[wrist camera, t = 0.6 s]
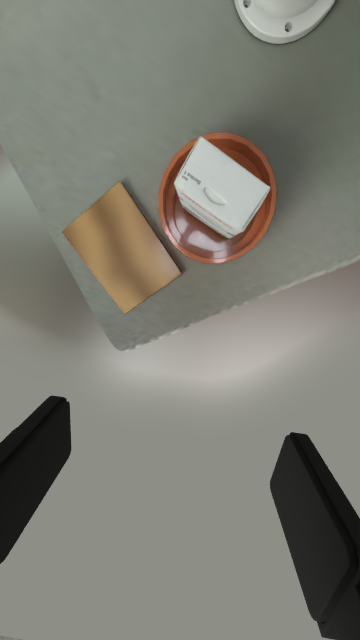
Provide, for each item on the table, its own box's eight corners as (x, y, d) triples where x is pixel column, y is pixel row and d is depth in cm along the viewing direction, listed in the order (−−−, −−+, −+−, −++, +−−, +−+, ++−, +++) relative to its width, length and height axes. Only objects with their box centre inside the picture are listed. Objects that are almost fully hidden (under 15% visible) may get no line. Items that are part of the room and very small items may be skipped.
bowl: (230, 126, 29) (237, 101, 24) (282, 223, 32) (297, 218, 27) (144, 197, 32) (135, 187, 27) (198, 280, 35) (199, 284, 30)
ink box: (247, 211, 32) (276, 186, 20) (227, 241, 33) (243, 234, 22) (198, 176, 31) (200, 130, 19) (179, 209, 32) (171, 183, 21)
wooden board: (121, 182, 32) (119, 180, 31) (182, 273, 35) (182, 273, 34) (64, 232, 34) (61, 232, 34) (126, 312, 38) (124, 314, 37)
